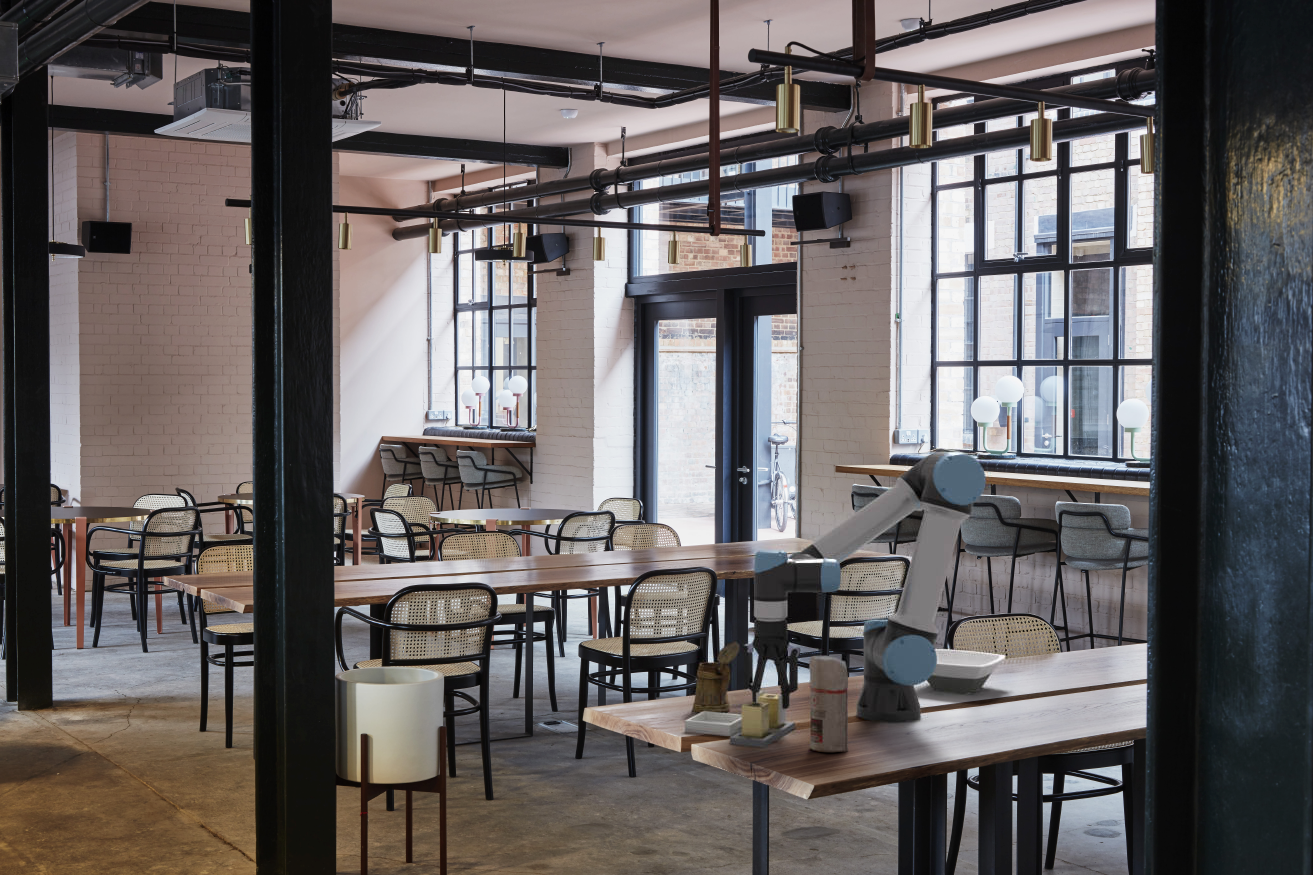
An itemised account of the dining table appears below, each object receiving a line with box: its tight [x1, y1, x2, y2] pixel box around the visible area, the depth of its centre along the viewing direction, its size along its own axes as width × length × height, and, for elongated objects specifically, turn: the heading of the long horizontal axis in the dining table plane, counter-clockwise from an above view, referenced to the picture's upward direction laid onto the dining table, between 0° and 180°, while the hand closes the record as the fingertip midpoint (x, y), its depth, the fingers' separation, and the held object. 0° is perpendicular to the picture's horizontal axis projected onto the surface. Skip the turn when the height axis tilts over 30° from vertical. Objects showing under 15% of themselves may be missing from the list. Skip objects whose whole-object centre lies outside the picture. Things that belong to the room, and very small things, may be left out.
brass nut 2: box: [758, 692, 784, 729], centre depth 289 cm, size 5×5×8 cm
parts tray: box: [684, 711, 742, 737], centre depth 291 cm, size 11×11×2 cm
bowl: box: [926, 648, 1006, 694], centre depth 338 cm, size 22×23×8 cm
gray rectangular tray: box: [729, 721, 796, 749], centre depth 284 cm, size 8×20×2 cm, turn 155°
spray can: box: [808, 655, 849, 753], centre depth 272 cm, size 8×8×20 cm
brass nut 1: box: [741, 701, 769, 739], centre depth 280 cm, size 5×5×8 cm
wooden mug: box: [691, 641, 740, 714], centre depth 310 cm, size 9×14×18 cm, turn 36°
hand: (770, 721), depth 289 cm, fingers closed on brass nut 2, 5 cm apart
